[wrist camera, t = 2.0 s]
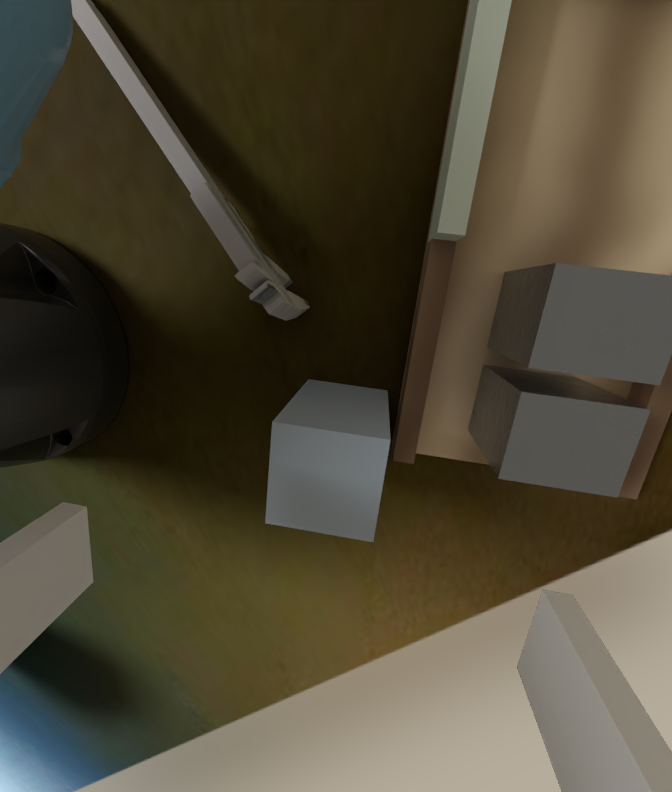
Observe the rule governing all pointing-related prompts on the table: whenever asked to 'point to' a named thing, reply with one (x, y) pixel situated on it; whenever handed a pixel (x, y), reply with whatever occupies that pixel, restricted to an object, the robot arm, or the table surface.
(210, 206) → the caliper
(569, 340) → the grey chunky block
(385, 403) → the grey block
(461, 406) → the slot board
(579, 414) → the grey squarish block
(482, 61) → the tray
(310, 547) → the table surface
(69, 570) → the robot arm
